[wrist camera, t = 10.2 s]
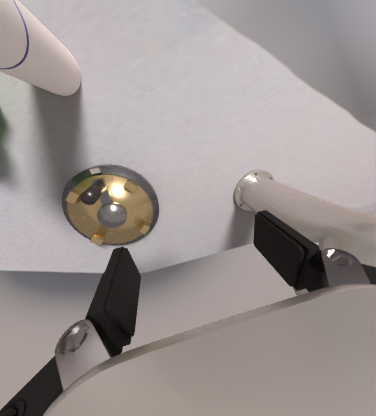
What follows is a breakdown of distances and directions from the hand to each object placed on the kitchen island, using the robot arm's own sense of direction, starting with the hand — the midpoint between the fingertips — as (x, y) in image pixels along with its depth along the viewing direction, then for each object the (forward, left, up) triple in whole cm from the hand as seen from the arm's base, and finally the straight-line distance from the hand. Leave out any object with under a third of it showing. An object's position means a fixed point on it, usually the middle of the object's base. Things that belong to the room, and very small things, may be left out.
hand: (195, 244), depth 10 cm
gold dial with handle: (+10, +13, -26) cm, 31 cm away
